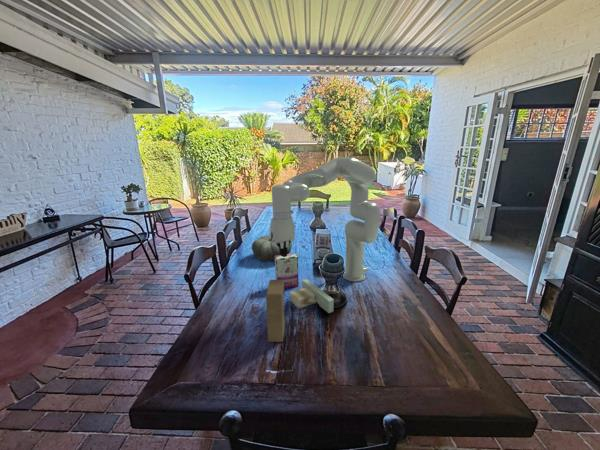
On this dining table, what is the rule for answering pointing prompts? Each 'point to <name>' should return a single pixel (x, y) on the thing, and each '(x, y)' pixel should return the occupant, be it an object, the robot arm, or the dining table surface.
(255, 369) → the dining table surface
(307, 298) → the ash block
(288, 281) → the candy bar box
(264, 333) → the dining table surface
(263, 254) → the gourd
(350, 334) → the dining table surface
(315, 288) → the sage board
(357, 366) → the dining table surface
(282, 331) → the decorative block
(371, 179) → the robot arm
